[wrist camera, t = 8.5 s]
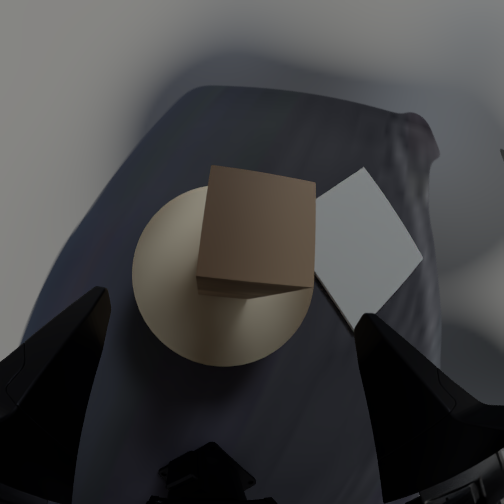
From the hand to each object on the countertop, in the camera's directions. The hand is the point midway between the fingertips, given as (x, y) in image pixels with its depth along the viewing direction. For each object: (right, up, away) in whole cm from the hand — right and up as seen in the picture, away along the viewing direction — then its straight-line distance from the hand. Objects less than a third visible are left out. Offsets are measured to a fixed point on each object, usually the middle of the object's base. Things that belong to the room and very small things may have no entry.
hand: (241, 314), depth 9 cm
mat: (+11, +3, +16) cm, 20 cm away
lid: (-1, +1, +9) cm, 9 cm away
